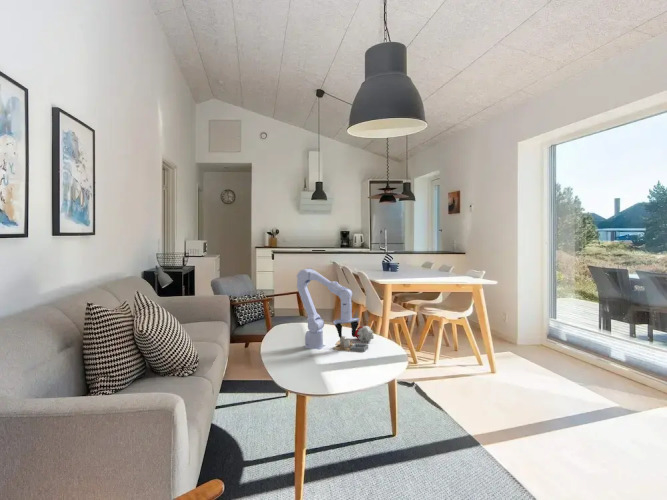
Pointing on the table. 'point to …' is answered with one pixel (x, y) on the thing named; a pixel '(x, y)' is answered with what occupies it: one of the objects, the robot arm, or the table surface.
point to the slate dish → (359, 347)
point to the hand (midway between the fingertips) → (346, 336)
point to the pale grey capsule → (346, 343)
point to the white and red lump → (364, 334)
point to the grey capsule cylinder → (342, 341)
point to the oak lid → (339, 342)
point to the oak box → (343, 348)
